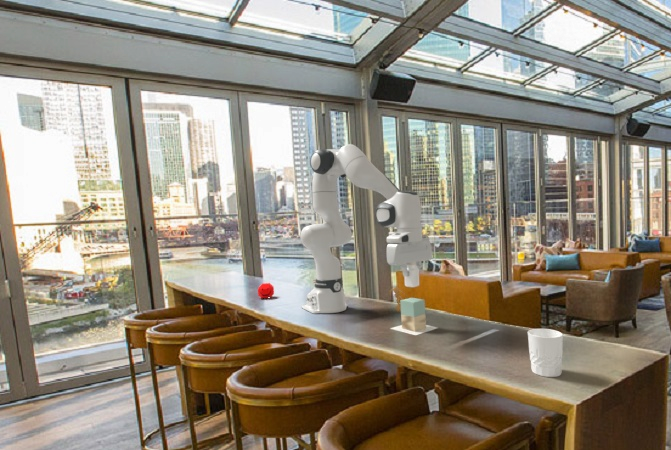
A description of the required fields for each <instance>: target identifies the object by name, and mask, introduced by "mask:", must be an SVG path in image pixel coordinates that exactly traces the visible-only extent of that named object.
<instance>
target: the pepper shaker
mask: <svg viewBox="0 0 671 450" xmlns="http://www.w3.org/2000/svg"><path fill="white" fill-rule="evenodd" d="M406 268H407V271H409V276H407V277H405V276H403V277H404V286H405V287H407V288H416V287H419V286H420V269H417V268H416V262H413V263H407V267H406Z"/></svg>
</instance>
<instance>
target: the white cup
mask: <svg viewBox="0 0 671 450" xmlns="http://www.w3.org/2000/svg"><path fill="white" fill-rule="evenodd" d="M527 339H528V352H529V361H530V368H531V371H532V373H534V374H535V375H538V376H541V377H547V378H556V377H560V376H561V375H562V373H563V372H562V371H563V368H562V367H563V365H562V364H563V344H564V343H563V341H564V336H563V332H560V331H558V330H555V329H552V328H551V329H549V328H532V329H531V328H530V329H529V330H528V331H527Z"/></svg>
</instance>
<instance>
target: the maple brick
mask: <svg viewBox="0 0 671 450" xmlns="http://www.w3.org/2000/svg"><path fill="white" fill-rule="evenodd" d="M400 317H401V325H402V329H406V330H410V331H414V332H415V331H418V330H421V329H424V328H426V325H427V318H426V313H425V314H423V315H420V316H416V317H411V316H406V315H402V314H401V313H400Z"/></svg>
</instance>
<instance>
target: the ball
mask: <svg viewBox="0 0 671 450" xmlns="http://www.w3.org/2000/svg"><path fill="white" fill-rule="evenodd" d="M274 289H275V288H274V285H272V284H271V283H270V282H264V283H262V284H260V285H259V287H258V288H257V295H258V296H259V297H260V298H261V299H262V298H268V297H271V298H272V297H273V295H274V294H275V290H274Z"/></svg>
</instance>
